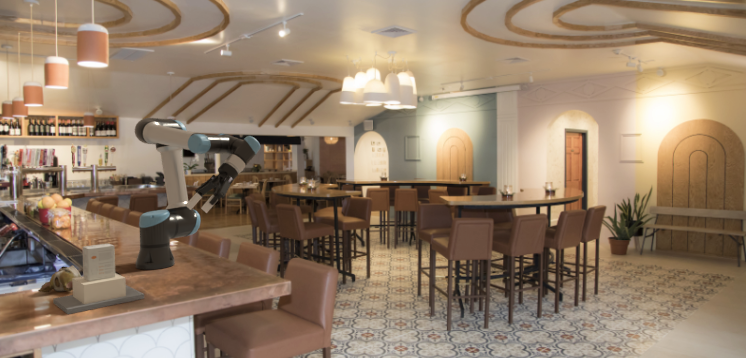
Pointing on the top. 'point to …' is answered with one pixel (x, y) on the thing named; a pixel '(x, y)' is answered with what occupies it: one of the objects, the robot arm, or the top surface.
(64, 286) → the ceramic sculpture
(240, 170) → the robot arm
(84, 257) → the small box
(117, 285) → the pedestal
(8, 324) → the top surface
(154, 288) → the top surface
